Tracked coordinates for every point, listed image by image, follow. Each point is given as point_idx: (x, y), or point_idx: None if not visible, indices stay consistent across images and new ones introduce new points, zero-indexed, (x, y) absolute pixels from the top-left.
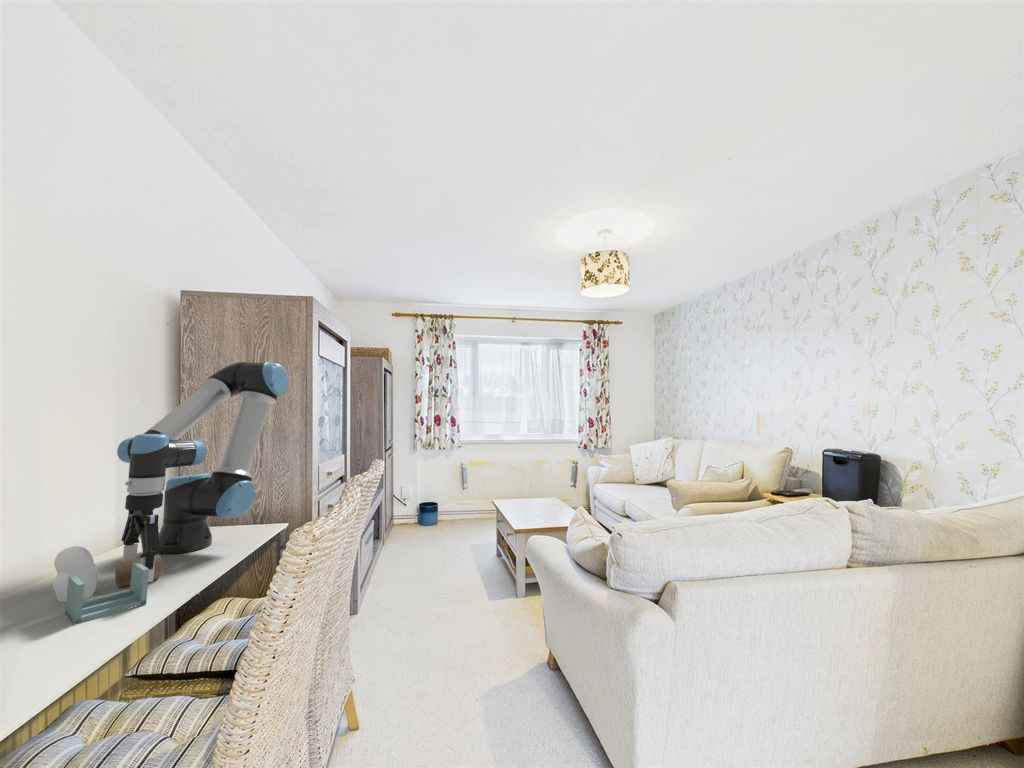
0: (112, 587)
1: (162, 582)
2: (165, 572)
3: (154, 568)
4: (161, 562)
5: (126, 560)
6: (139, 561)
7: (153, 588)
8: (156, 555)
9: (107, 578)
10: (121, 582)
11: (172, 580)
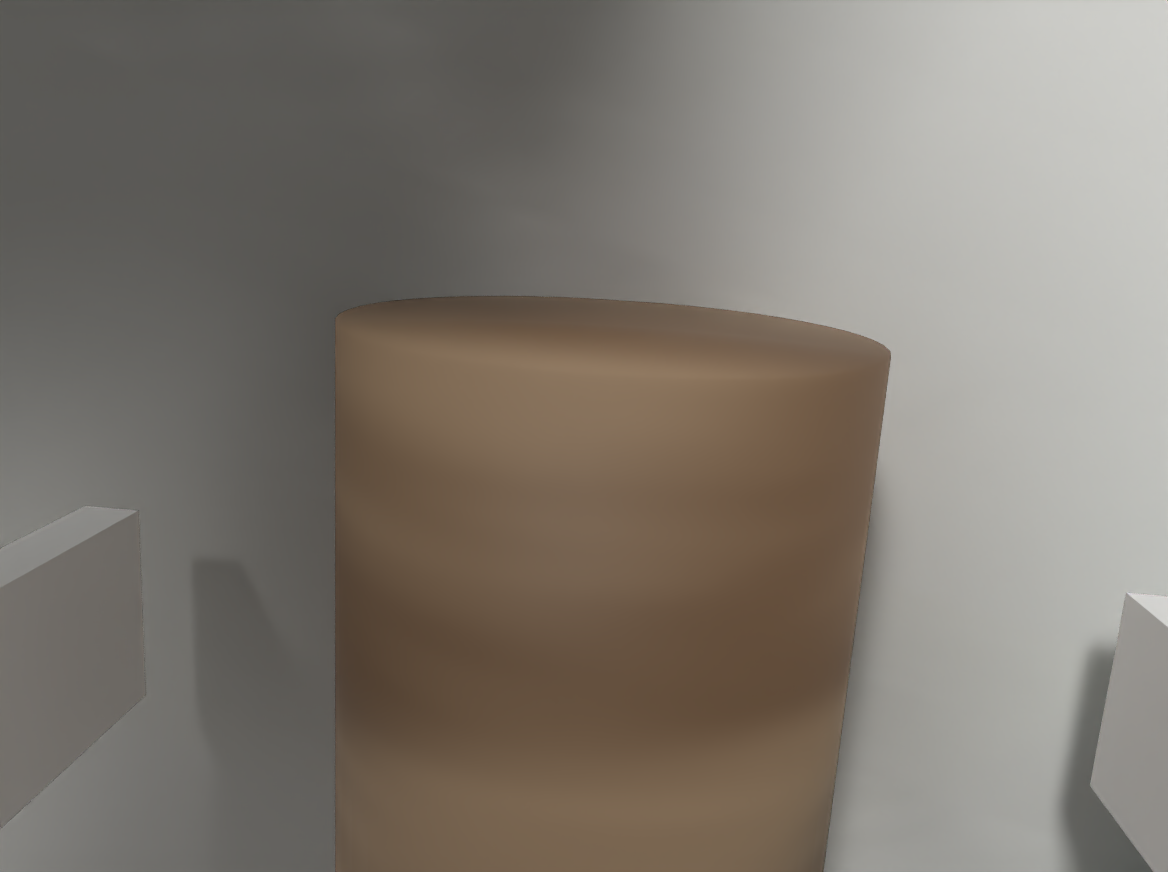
0: None
1: (970, 341)
2: (441, 90)
3: (871, 502)
4: (865, 373)
5: (23, 758)
6: (699, 836)
7: (1139, 541)
8: (580, 429)
9: None
10: None
11: (1022, 190)
